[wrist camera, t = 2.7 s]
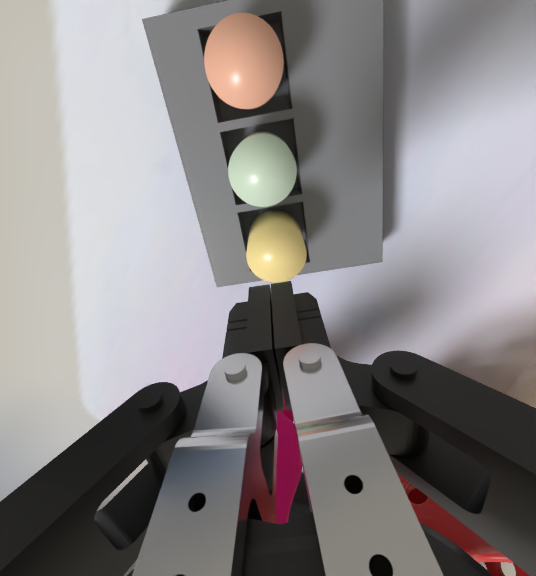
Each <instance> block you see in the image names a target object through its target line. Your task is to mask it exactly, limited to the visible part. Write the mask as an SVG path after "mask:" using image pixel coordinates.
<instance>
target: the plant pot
mask: <svg viewBox="0 0 536 576" xmlns="http://www.w3.org/2000/svg"><path fill="white" fill-rule="evenodd" d="M396 473H397V472H396ZM397 475H398V477H399V479H400V481H401V484H402V486H403V488H404V490H405V492H406V495H407V497H408V499H409V501H410V503H411V505H412V508H413V510H414V512H415V514H416V516H417V519H418V521H419V523H421V524H423V525H426V526H428V527H430V528H432V529H433V530H435V531H437V532H439V533H440V534H442V535H444V536H445V537H447V538H448V539H449V540H451V541H452V542H454V543H455V544H457V545H458V546H459V547H460V548H462V549H463V550H464V551H465V552H467V553H468V554H469V555H470V556H471V557H472V558H474V559H475V560H476V561H477V562H484V563H485V565H486V567H487V570H488V572H490V573H491V574H492V575H493V576H505V575H504V574H503V572H502V569H501V562H509V563H513V562H512V561H511V560H509V559H508V558H507V557H506V556H504V555H503V554H502V553H500V552H499V551H498V550H497V549H495V548H494V547H493V546H491V545H490V544H489V543H487V542H486V541H485V540H484V539H482V538H481V537H480V536H478V535H477V534H476V533H474V532H473V531H472V530H471V529H469V528H468V527H467V526H465V525H464V524H463V523H462V522H460V521H459V520H458V519H456V518H455V517H454V516H452V515H451V514H450V513H449V512H447V511H446V510H445V509H443V508H442V507H441V506H439V505H438V504H437V503H436V502H434V501H433V500H432V499H430V498H429V497H428V496H426V495H425V494H424V493H423V492H421V491H420V490H419V489H417V488H416V487H415V486H414V485H412V484H411V483H410V482H408V481H407V480H406V479H404V478H403V477H402V476H401V475H399V474H398V473H397ZM513 565H514V567H515V570H516V576H530V575H529V574H528V573H526V572H525V571H524V570H522V569H521V568H520V567H519V566H517V565H516V564H515V563H513Z"/></svg>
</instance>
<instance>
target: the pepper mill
mask: <svg viewBox="0 0 536 576" xmlns="http://www.w3.org/2000/svg"><path fill="white" fill-rule="evenodd" d="M283 397H284V393H283ZM293 420H294V419H293V414H292V409H290V410H287V408H286V403H285V398H284V410H283V411H277V429H276V430H277V434H278V445H277V478H276V515H277V524H284V523H287V522H288V517H289V511H290V508H291V504H292V501H293V498H294V495H295V492H296V489H297V486H298V483H299V480H300V477H301V471H302V461H301V456H300V451H299V446H298V441H297V436H296V430H295V425H294V423H293Z"/></svg>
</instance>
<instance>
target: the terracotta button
mask: <svg viewBox="0 0 536 576" xmlns="http://www.w3.org/2000/svg"><path fill="white" fill-rule="evenodd" d="M204 64H205V71H206V75H207V78H208V81H209V83H210V85H211V87H212V89H213V90H214V92H215V93H216V94H217V95H218V97H219V98H220V99H222V100H223V101H224V102H225V103H227V104H229V105H231V106H233V107H236V108H240V109H255V108H259V107H261V106H263V105H264V104H266V103H267V102H268V101H269V100H270V99H271V98H272V97H273V95H274V94H275V92H276V90H277V88H278V86H279V84H280V81H281V78H282V74H283V65H284V60H283V52H282V47H281V44H280V41H279V39H278V37H277V35H276V33H275V32H274V30H273V29H272V27H271V26H270V25H269V24H268V23H267V22H266V21H264V20H263V19H262V18H260V17H258V16H256V15H253V14H250V13H235V14H232V15H229V16H227V17H225V18H224V19H222V20H221V21H220V22H219V23H218V24H217V25H216V26H215V27H214V29H213V30H212V32H211V33H210V35H209V38H208V40H207V43H206V47H205V54H204Z"/></svg>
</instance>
